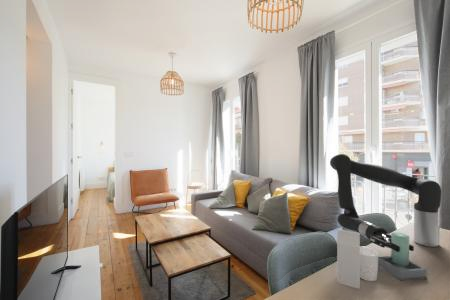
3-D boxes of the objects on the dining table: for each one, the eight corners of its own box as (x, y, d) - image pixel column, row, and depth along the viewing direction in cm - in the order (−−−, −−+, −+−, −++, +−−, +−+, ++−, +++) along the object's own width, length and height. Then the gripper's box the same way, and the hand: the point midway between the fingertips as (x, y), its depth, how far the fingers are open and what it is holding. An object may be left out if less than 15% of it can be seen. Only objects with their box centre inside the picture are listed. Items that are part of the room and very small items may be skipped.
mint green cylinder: (399, 257, 91) (400, 232, 91) (412, 265, 86) (413, 237, 85) (387, 258, 91) (388, 232, 90) (400, 266, 85) (400, 238, 85)
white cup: (382, 283, 81) (382, 256, 80) (359, 281, 82) (359, 254, 82) (372, 271, 88) (372, 247, 88) (351, 269, 90) (351, 245, 90)
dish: (400, 263, 94) (400, 255, 94) (426, 278, 83) (426, 269, 83) (377, 265, 93) (377, 256, 93) (400, 280, 82) (401, 271, 82)
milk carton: (359, 289, 77) (359, 236, 77) (337, 283, 81) (337, 232, 81) (359, 279, 83) (359, 229, 83) (338, 273, 87) (338, 226, 87)
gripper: (358, 224, 101) (389, 240, 84) (386, 223, 103) (422, 238, 86) (358, 240, 101) (389, 259, 85) (385, 239, 103) (422, 257, 86)
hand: (405, 249), depth 86 cm, fingers closed on mint green cylinder, 5 cm apart
